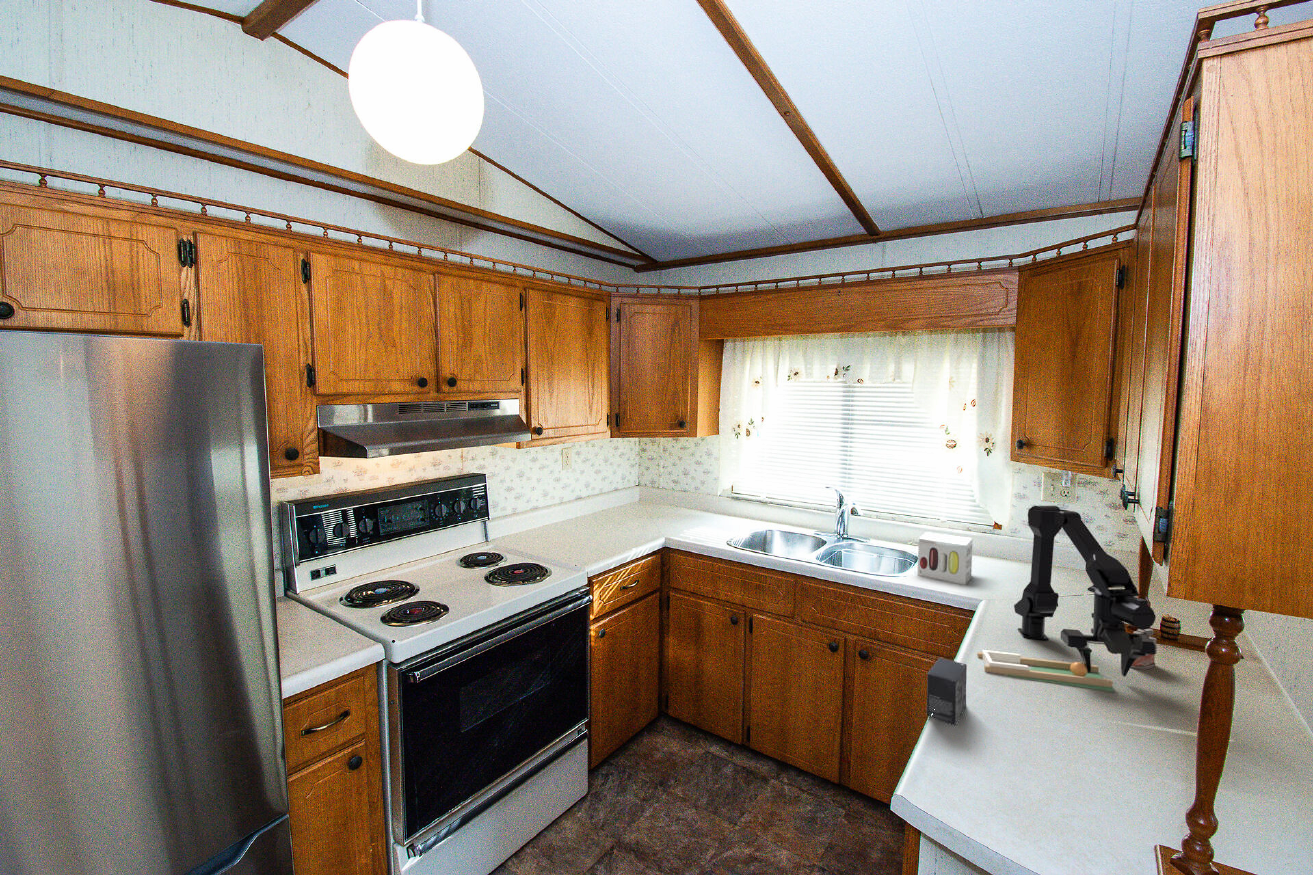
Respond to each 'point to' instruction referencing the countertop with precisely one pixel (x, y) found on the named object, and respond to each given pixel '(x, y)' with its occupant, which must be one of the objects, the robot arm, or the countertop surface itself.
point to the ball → (1078, 669)
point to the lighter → (1147, 660)
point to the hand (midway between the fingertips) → (1105, 673)
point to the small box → (946, 690)
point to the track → (1054, 674)
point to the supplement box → (945, 557)
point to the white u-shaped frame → (1003, 660)
